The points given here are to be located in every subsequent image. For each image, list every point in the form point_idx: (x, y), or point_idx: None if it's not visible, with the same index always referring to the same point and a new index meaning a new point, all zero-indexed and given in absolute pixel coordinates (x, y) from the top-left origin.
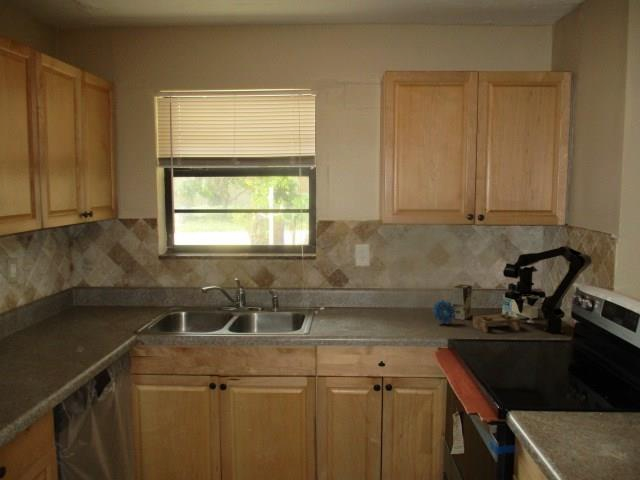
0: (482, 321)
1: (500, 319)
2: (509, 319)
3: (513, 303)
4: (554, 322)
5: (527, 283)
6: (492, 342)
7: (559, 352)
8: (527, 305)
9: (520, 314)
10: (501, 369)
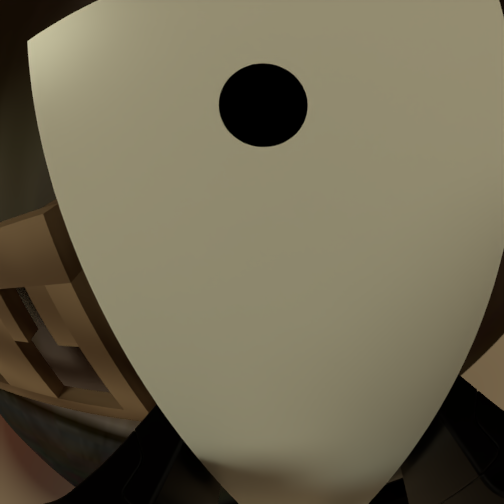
0: None
1: (23, 381)
2: (75, 401)
3: (76, 159)
4: None
5: None
6: (48, 419)
7: (221, 492)
8: (337, 483)
9: None
10: (83, 479)
